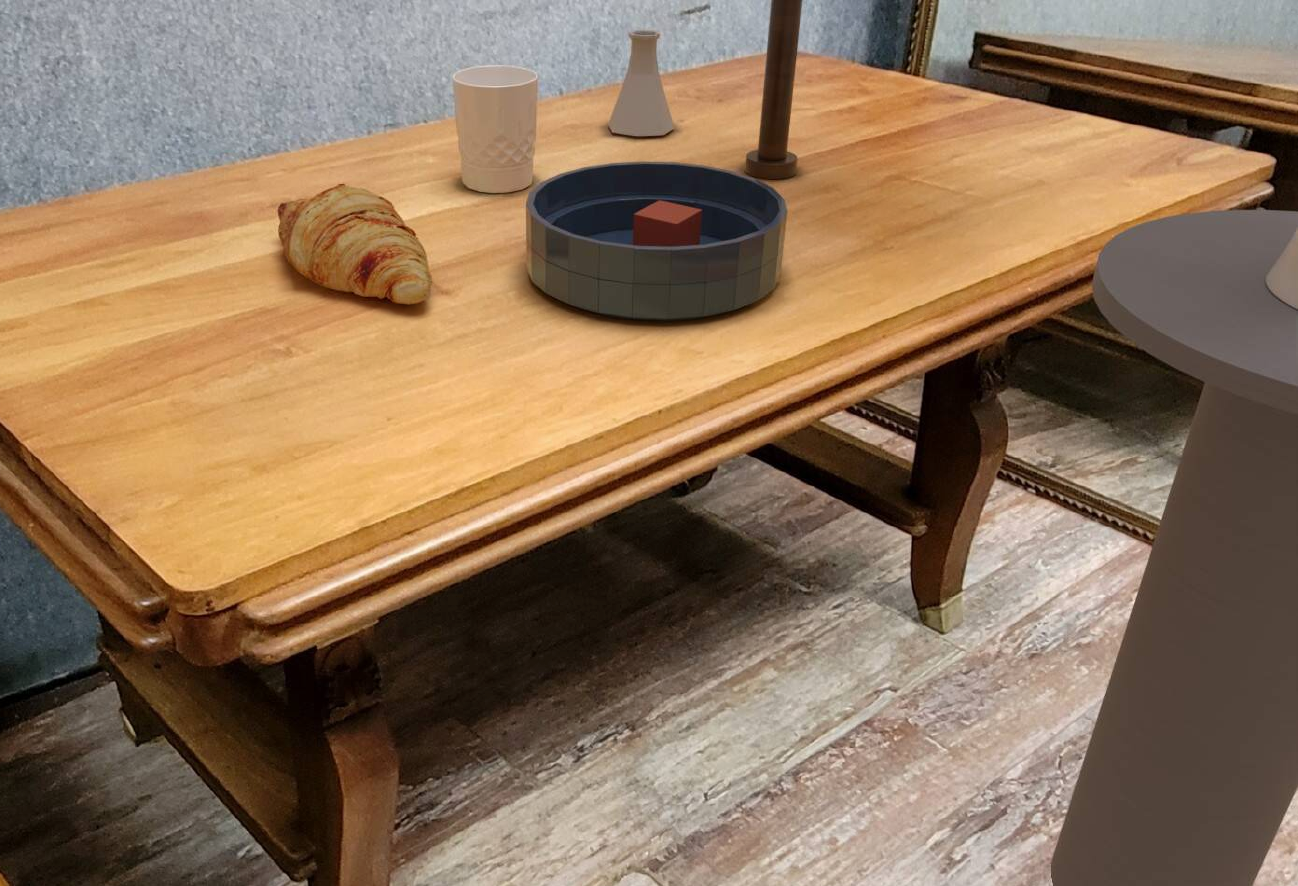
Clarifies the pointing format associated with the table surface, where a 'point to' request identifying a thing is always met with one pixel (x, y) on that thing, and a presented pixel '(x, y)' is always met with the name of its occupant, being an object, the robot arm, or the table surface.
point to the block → (667, 225)
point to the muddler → (777, 95)
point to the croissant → (355, 245)
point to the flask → (642, 91)
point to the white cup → (496, 126)
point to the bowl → (652, 277)
